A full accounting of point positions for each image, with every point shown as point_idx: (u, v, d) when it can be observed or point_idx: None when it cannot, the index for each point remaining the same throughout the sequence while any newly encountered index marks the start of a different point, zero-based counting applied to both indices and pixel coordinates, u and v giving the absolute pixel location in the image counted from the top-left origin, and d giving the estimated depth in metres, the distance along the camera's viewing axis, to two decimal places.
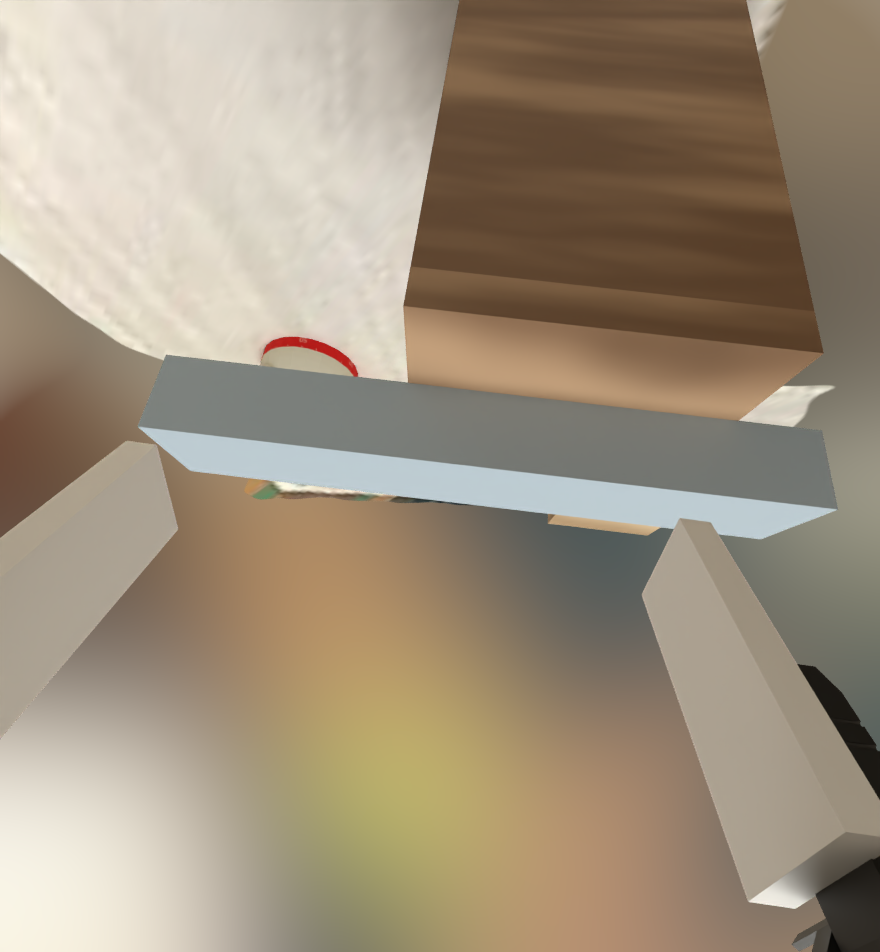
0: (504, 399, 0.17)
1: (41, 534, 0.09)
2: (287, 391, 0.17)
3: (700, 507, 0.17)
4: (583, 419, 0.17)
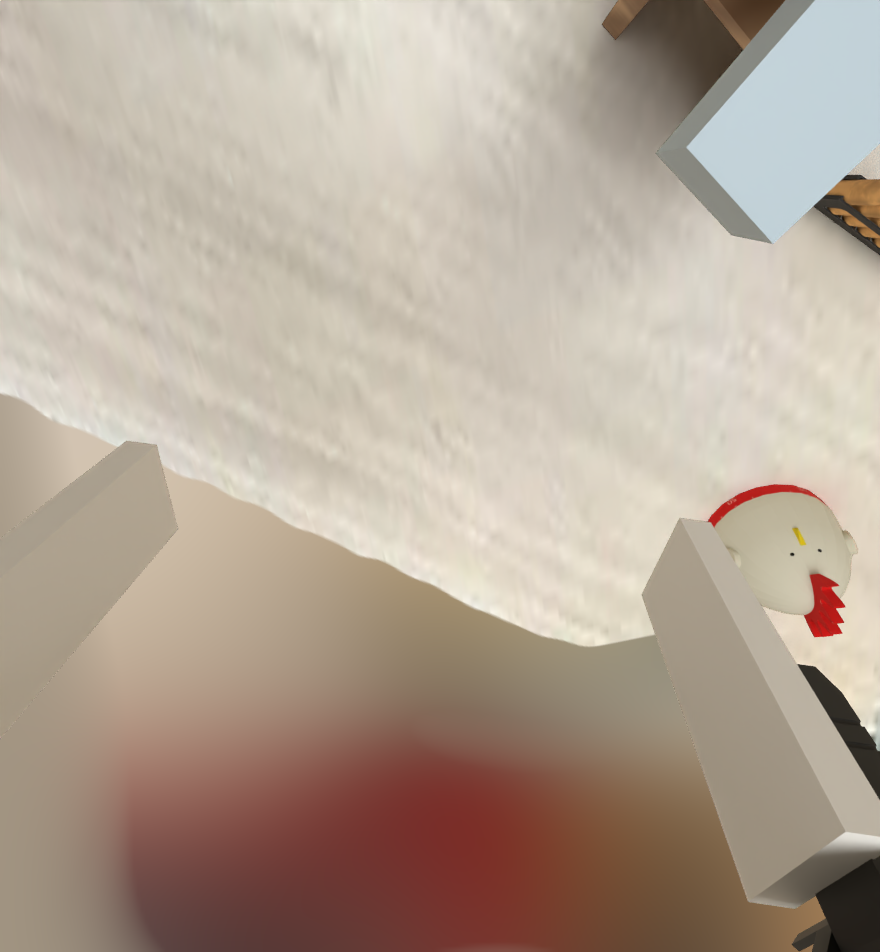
0: None
1: (41, 534, 0.09)
2: None
3: None
4: None
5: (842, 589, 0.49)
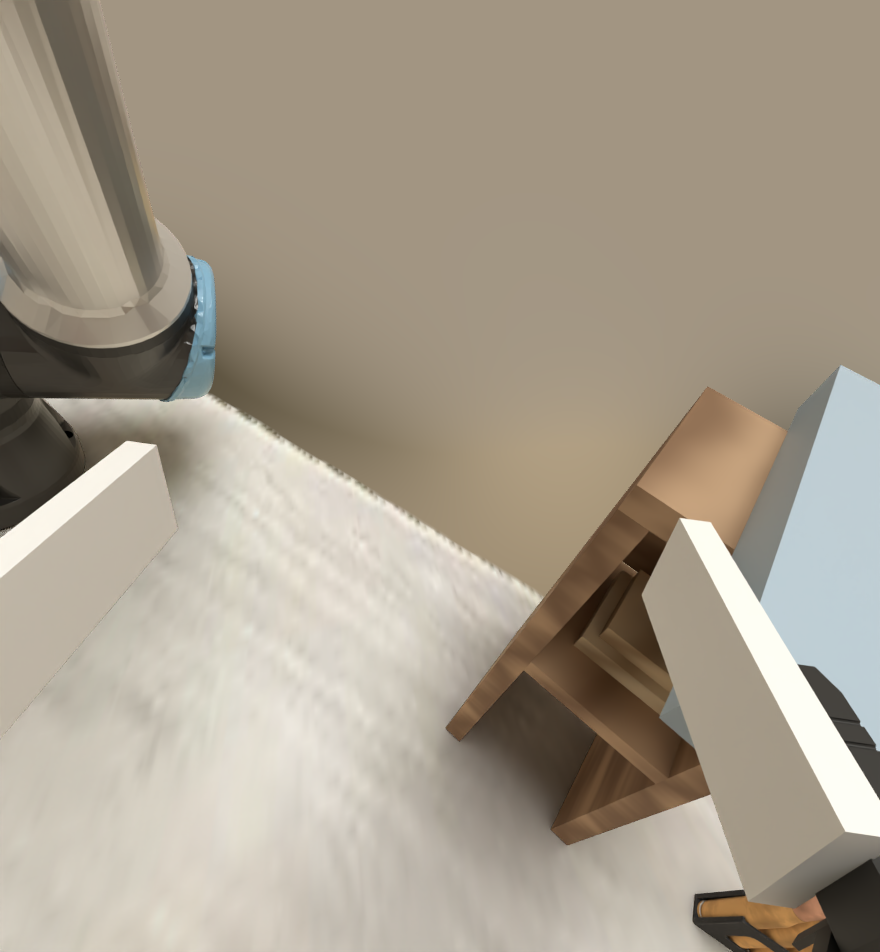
0: (761, 493, 0.20)
1: (41, 534, 0.09)
2: None
3: (860, 401, 0.23)
4: (781, 459, 0.22)
5: None
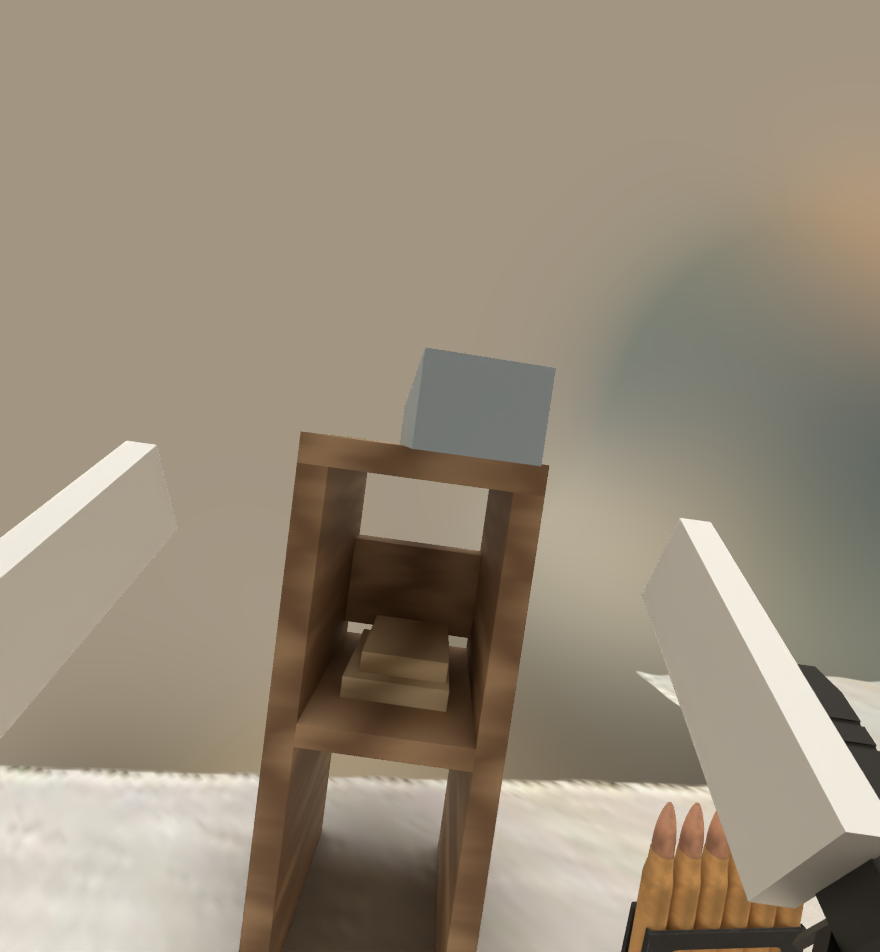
0: (403, 440, 0.27)
1: (41, 534, 0.09)
2: (410, 423, 0.19)
3: None
4: (403, 433, 0.30)
5: None
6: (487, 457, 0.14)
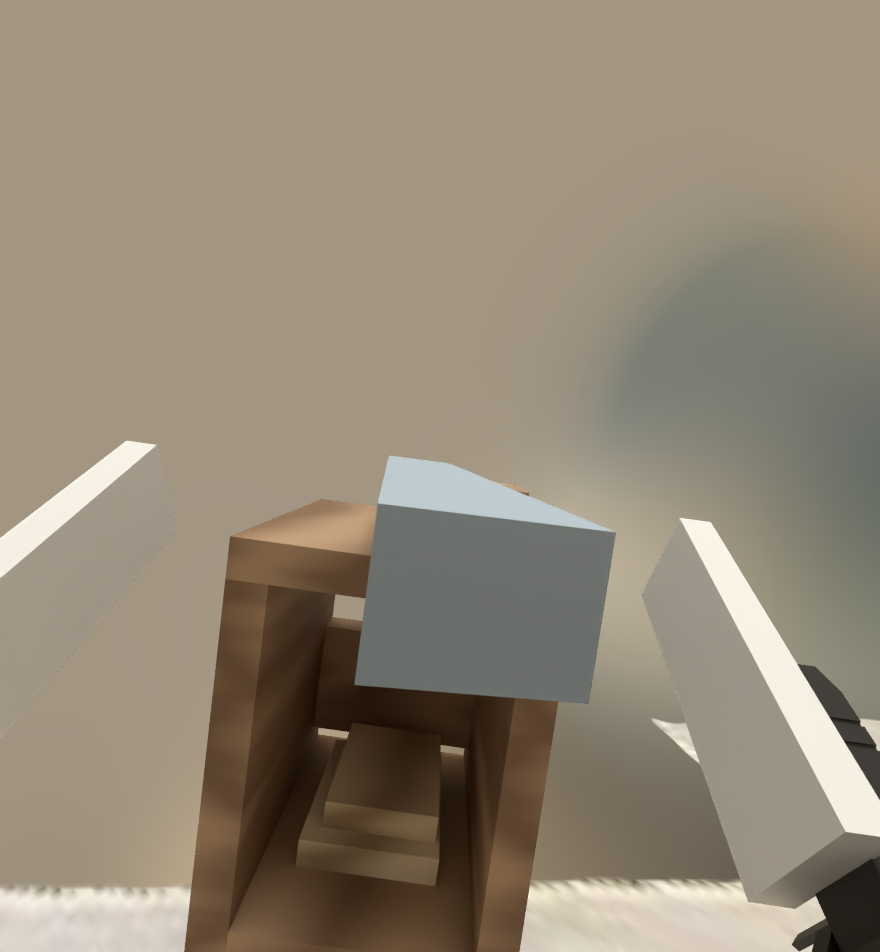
0: None
1: (41, 534, 0.09)
2: None
3: (411, 460, 0.28)
4: None
5: None
6: (492, 694, 0.08)
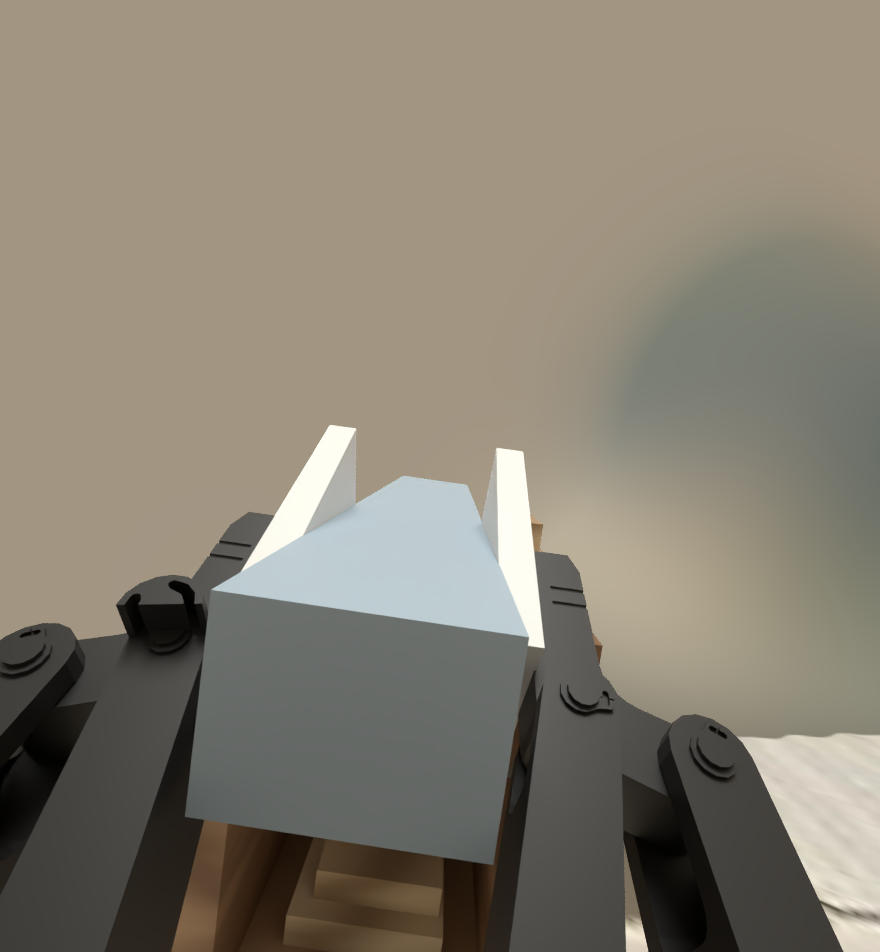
0: None
1: (312, 499, 0.11)
2: None
3: (420, 483, 0.26)
4: None
5: None
6: (361, 842, 0.06)
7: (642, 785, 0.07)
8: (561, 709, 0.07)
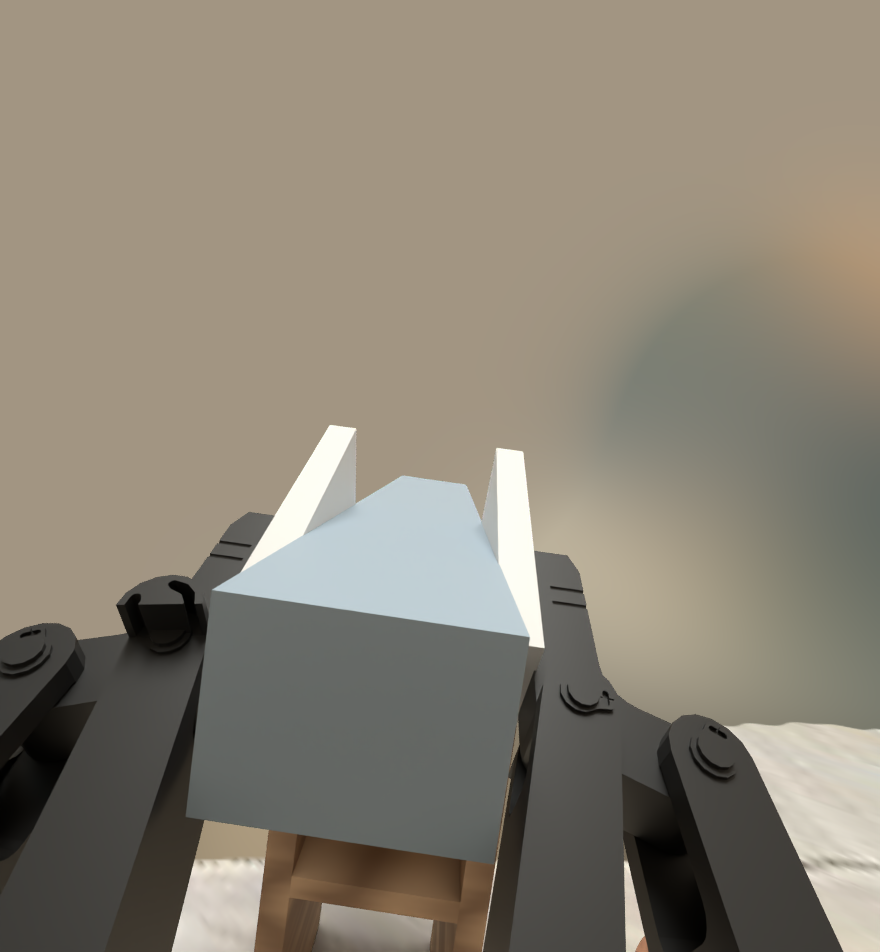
0: None
1: (312, 499, 0.11)
2: None
3: (419, 483, 0.26)
4: None
5: None
6: (362, 842, 0.06)
7: (642, 785, 0.07)
8: (561, 709, 0.07)
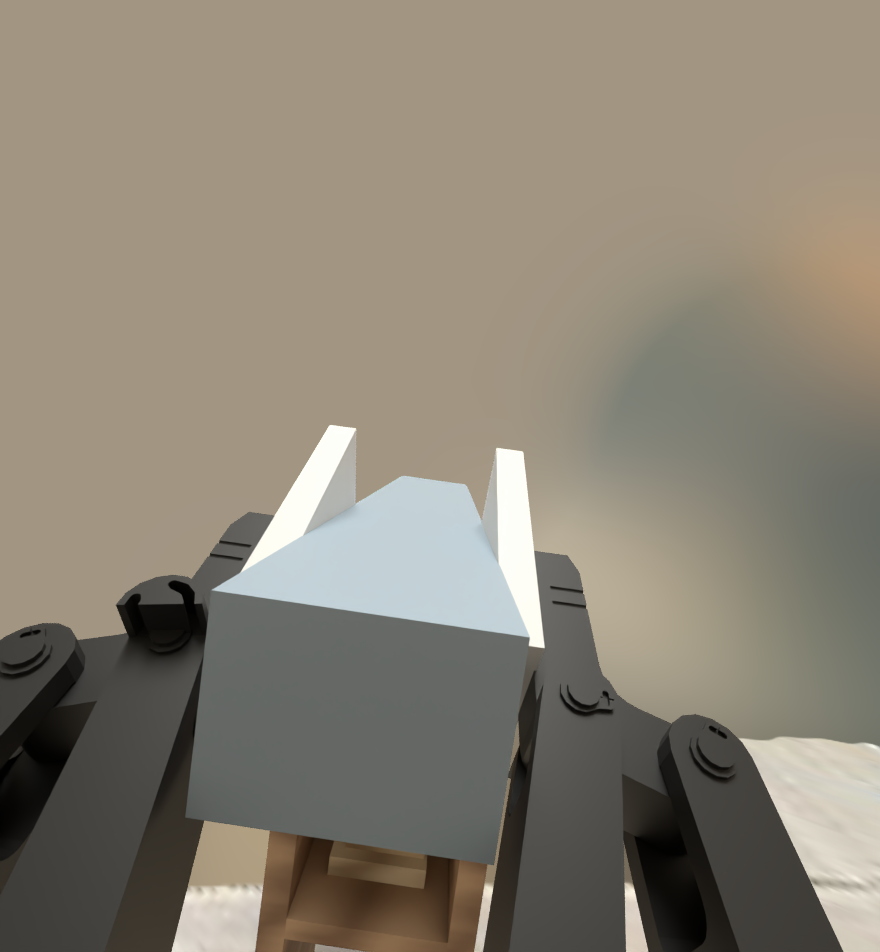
0: None
1: (312, 499, 0.11)
2: None
3: (419, 483, 0.26)
4: None
5: None
6: (362, 843, 0.06)
7: (642, 785, 0.07)
8: (561, 709, 0.07)
